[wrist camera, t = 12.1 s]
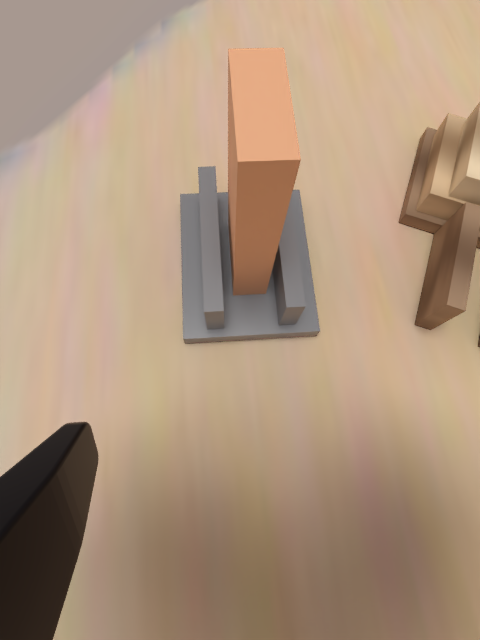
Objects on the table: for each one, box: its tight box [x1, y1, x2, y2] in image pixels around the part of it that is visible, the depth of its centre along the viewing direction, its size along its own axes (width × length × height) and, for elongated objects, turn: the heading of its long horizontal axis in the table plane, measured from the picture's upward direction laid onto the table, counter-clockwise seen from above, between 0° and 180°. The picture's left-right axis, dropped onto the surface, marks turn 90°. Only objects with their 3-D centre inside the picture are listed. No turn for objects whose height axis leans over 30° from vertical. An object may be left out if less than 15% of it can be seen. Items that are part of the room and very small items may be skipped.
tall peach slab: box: [228, 48, 301, 295], centre depth 17 cm, size 5×2×11 cm, turn 4°
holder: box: [180, 166, 320, 344], centre depth 22 cm, size 10×8×4 cm
